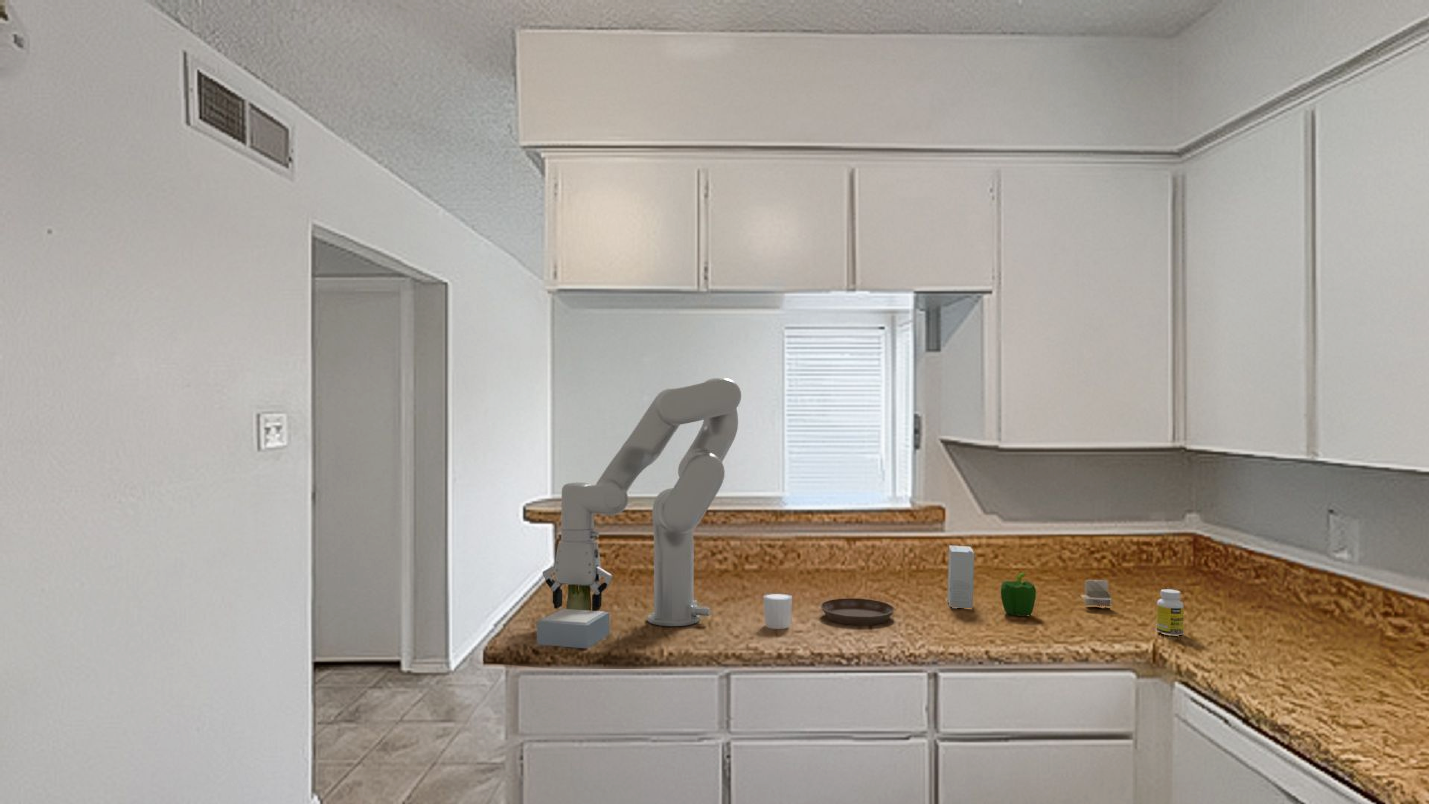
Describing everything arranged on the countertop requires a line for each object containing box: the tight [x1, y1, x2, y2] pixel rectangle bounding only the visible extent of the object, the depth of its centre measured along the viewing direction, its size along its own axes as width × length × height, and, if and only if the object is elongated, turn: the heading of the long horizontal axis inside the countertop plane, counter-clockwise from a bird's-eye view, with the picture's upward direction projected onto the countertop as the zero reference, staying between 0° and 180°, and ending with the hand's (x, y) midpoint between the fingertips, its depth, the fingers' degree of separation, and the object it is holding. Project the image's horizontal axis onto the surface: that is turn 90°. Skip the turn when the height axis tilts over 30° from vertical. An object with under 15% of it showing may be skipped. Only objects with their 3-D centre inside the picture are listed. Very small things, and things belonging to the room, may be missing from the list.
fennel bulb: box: [565, 585, 592, 611], centre depth 214 cm, size 6×5×12 cm
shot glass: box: [762, 593, 793, 630], centre depth 214 cm, size 7×7×7 cm
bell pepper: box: [1000, 572, 1037, 617], centre depth 225 cm, size 8×8×10 cm
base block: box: [536, 608, 610, 649], centre depth 202 cm, size 12×12×5 cm
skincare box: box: [947, 545, 975, 609], centre depth 235 cm, size 8×6×15 cm
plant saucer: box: [820, 597, 895, 626], centre depth 222 cm, size 18×18×3 cm
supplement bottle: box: [1156, 588, 1185, 635], centre depth 207 cm, size 5×5×10 cm
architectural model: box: [1080, 579, 1113, 608], centre depth 231 cm, size 3×7×7 cm, turn 81°
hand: (576, 608), depth 214 cm, fingers open, 9 cm apart
